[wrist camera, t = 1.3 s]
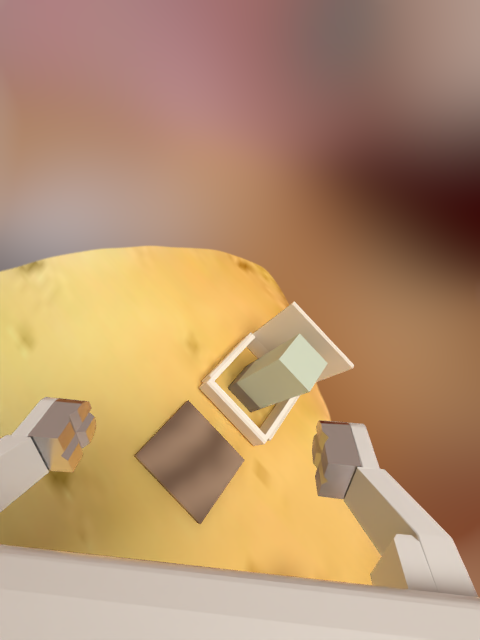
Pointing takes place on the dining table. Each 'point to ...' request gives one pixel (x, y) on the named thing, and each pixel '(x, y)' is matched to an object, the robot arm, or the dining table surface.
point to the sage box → (279, 374)
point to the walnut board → (190, 460)
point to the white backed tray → (261, 344)
